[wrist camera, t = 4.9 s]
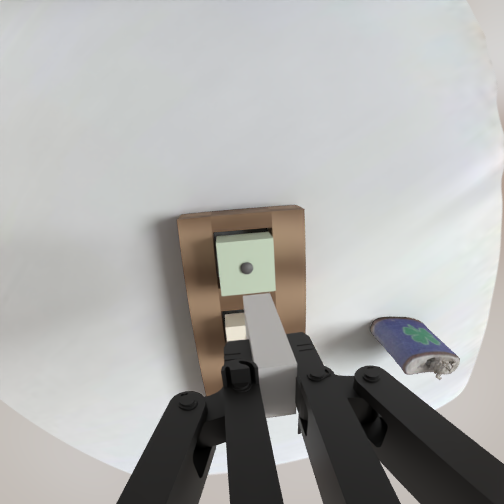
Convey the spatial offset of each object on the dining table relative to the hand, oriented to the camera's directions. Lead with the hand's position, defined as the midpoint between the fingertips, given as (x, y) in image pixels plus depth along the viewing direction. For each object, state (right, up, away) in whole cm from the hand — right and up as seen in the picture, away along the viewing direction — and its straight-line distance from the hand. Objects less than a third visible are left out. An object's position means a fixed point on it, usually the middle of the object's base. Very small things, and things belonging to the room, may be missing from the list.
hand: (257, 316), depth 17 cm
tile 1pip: (-1, +3, +10) cm, 11 cm away
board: (-1, -3, +15) cm, 15 cm away
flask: (+18, -6, +18) cm, 26 cm away
